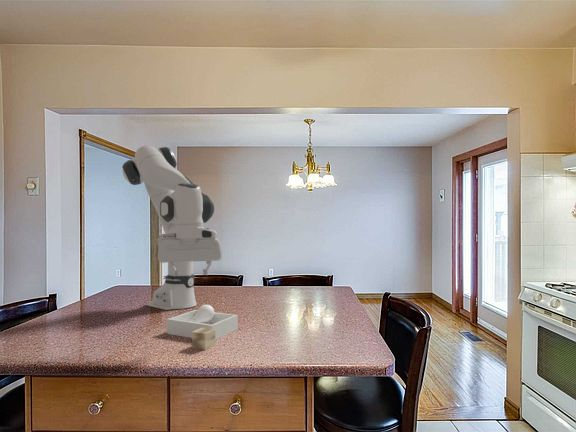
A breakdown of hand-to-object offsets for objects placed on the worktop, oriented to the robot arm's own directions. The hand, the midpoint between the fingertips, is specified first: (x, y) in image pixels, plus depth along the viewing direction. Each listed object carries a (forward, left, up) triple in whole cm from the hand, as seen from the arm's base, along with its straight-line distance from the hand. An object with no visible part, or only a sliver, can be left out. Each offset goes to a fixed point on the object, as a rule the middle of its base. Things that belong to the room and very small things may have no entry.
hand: (191, 275), depth 123 cm
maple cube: (+8, -3, -21) cm, 23 cm away
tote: (-2, +9, -21) cm, 23 cm away
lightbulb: (-6, +6, -19) cm, 21 cm away
